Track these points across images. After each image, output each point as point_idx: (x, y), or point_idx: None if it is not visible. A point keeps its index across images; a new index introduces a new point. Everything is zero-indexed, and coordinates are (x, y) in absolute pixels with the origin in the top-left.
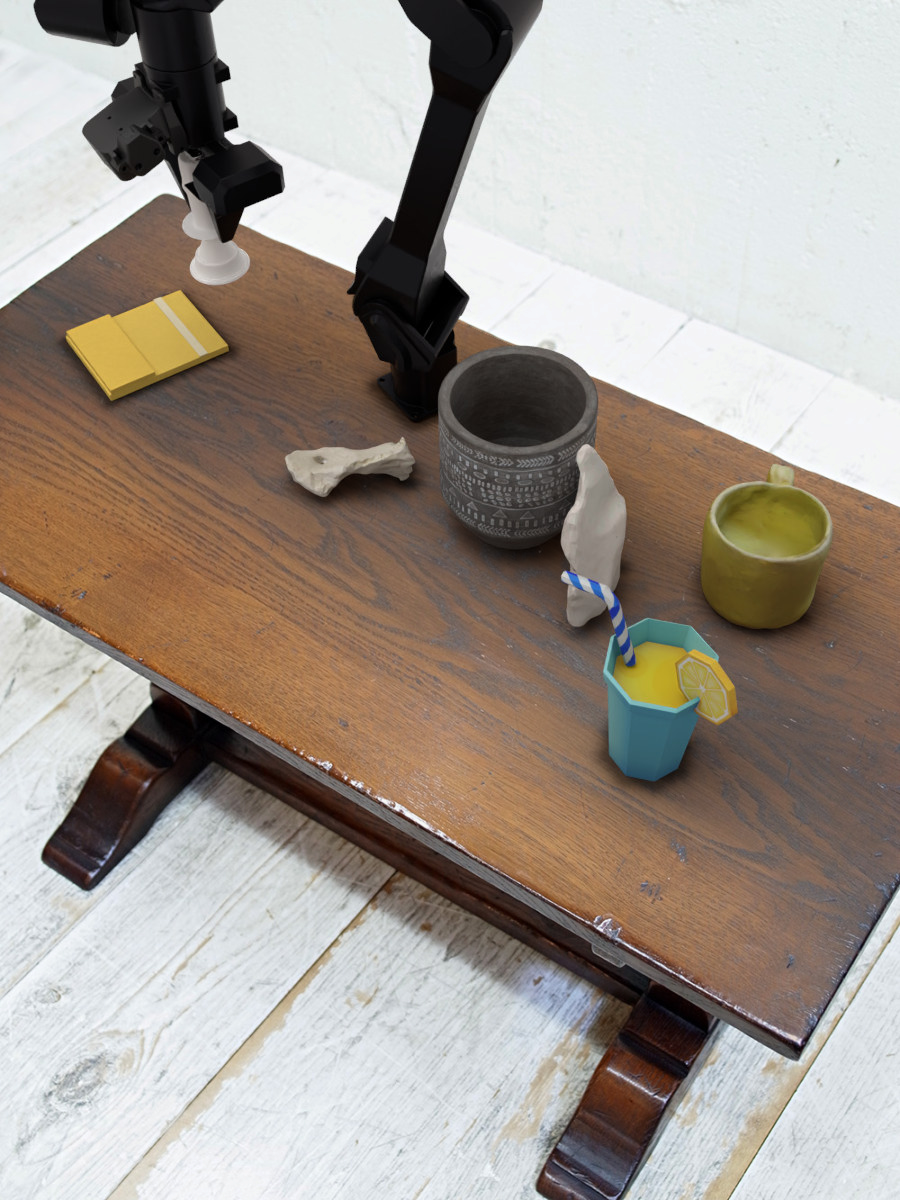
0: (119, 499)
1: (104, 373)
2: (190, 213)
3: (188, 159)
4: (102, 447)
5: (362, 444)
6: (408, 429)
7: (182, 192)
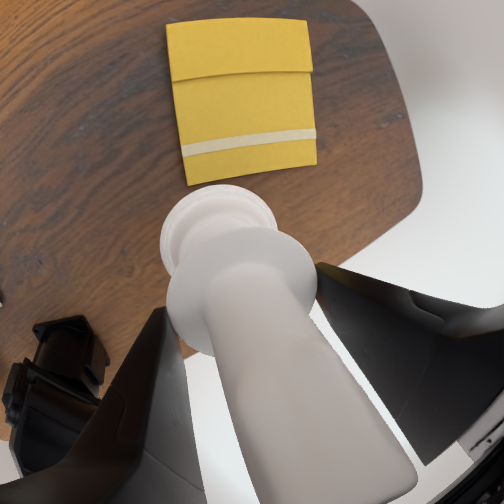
0: (20, 29)
1: (203, 26)
2: (308, 264)
3: None
4: (96, 10)
5: (13, 279)
6: (28, 318)
7: (361, 284)
